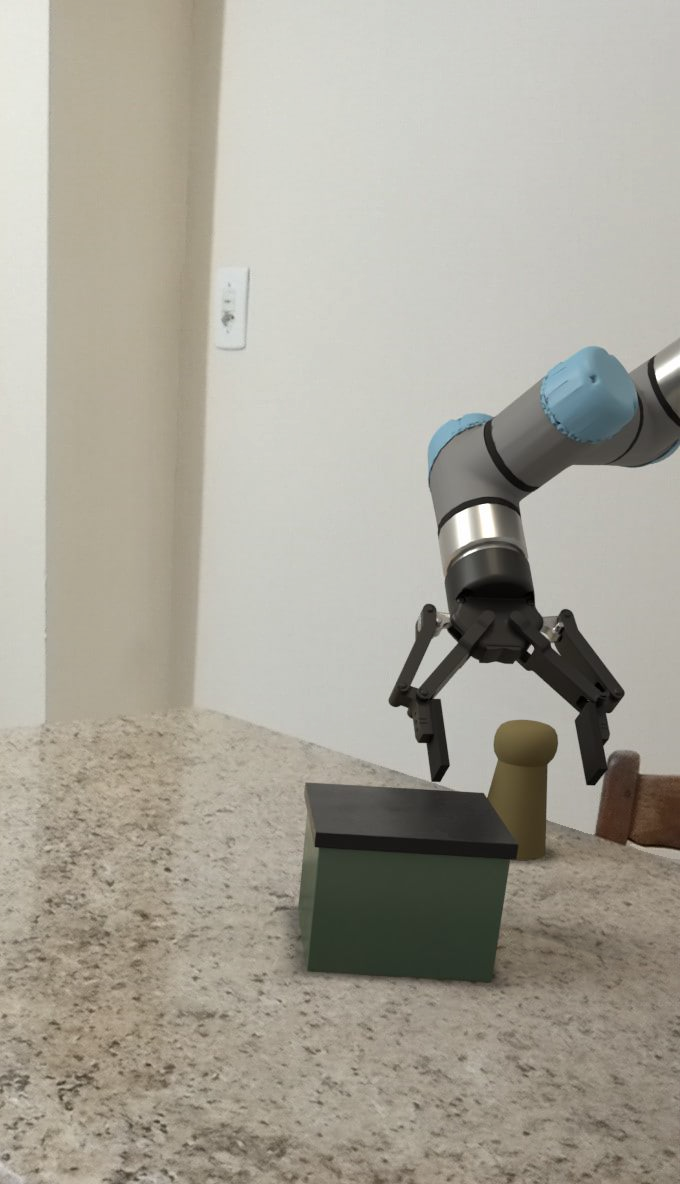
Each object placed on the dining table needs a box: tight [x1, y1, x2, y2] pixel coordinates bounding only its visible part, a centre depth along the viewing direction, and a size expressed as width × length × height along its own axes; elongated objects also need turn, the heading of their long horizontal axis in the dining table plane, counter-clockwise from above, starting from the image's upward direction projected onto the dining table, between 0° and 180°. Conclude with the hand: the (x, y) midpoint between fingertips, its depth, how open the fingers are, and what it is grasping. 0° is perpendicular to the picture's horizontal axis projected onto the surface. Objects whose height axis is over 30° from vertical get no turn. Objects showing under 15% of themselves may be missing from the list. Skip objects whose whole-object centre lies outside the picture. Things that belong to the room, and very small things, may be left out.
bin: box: [297, 782, 519, 983], centre depth 93 cm, size 13×13×10 cm
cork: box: [486, 719, 559, 861], centre depth 116 cm, size 6×6×11 cm
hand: (519, 776), depth 115 cm, fingers open, 13 cm apart
